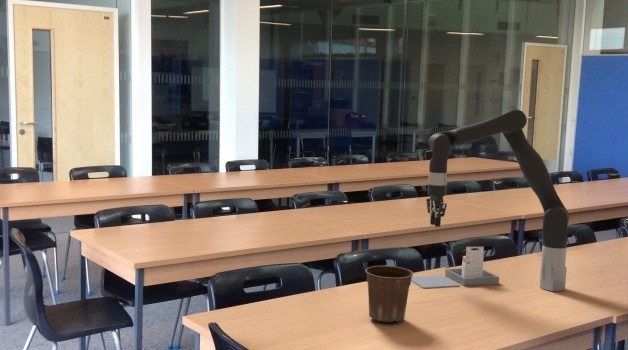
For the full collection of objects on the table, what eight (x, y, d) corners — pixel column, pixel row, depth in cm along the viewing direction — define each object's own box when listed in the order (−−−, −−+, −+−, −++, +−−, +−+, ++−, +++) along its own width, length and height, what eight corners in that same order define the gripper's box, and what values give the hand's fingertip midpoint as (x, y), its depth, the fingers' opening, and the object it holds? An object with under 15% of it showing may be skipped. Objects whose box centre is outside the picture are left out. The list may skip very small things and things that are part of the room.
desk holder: (498, 284, 289) (499, 276, 289) (463, 286, 284) (464, 278, 284) (478, 274, 304) (479, 267, 304) (445, 275, 299) (445, 269, 299)
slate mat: (459, 286, 284) (459, 285, 284) (423, 288, 279) (423, 287, 279) (440, 276, 299) (440, 275, 299) (406, 278, 294) (406, 276, 294)
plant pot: (414, 312, 248) (416, 267, 246) (407, 327, 232) (409, 279, 230) (368, 307, 252) (370, 263, 250) (359, 321, 237) (361, 274, 235)
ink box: (461, 279, 295) (462, 244, 294) (479, 278, 296) (481, 244, 295) (463, 281, 292) (465, 246, 290) (482, 281, 293) (484, 246, 291)
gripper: (454, 185, 279) (451, 228, 281) (437, 181, 292) (435, 222, 294) (437, 185, 276) (434, 229, 278) (421, 181, 290) (419, 222, 292)
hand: (435, 225), depth 286 cm, fingers open, 3 cm apart
